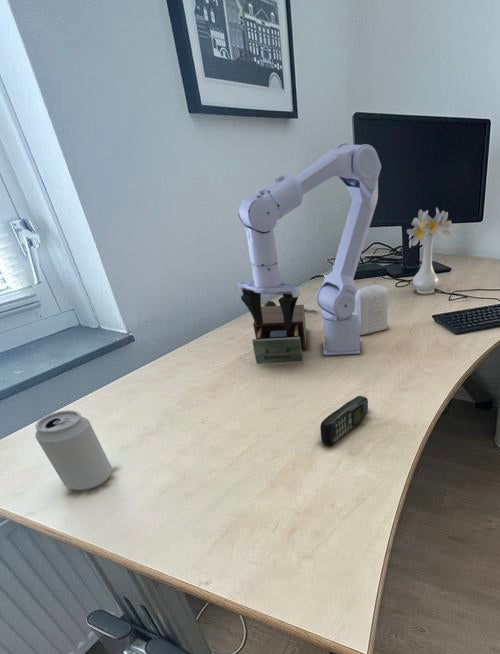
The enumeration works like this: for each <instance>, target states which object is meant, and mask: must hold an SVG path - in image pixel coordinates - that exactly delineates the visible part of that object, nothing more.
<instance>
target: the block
mask: <svg viewBox="0 0 500 654" xmlns="http://www.w3.org/2000/svg"><path fill="white" fill-rule="evenodd" d="M270 338H288V336H287V330H284V331H271V334H270Z"/></svg>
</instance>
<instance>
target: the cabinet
mask: <svg viewBox="0 0 500 654" xmlns="http://www.w3.org/2000/svg"><path fill="white" fill-rule="evenodd" d="M304 309H305V304H296V305H295V308H294V312H293V318H292V325H299V329H300V338H301V348H302V351H306V350H307V331H308V330H307V322H306V314H305V313H306V312H304ZM261 311H262V317H263V323H262V324H261V325H259V326H256V323H255V321H254V320H253V324H252V325H253V331H254V336H255V339H257V334H258V331H259V327H263V326H284V317H283V312H282V309H281V306H280V305H276V306H263V307H262V306H261Z"/></svg>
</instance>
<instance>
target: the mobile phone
mask: <svg viewBox="0 0 500 654" xmlns="http://www.w3.org/2000/svg"><path fill="white" fill-rule="evenodd" d="M368 411H369V401H368V398H367V397H365V396H364V395H358V396H356V397H354V398H352V399H351V400H349V401H347V402H345V403H344V404H343V405H341V407H339V408H337V409H336V410H335V411H333V412H332V413H330V414H329V415H328V416H327V417H325V418H324V419H323V420H322V421H321V423H320V427H319V428H320V440H321V442H322V444H323V445H324V446H327V447H331V446H333V445H334V444H335V443H336V442H337V441H340V439H341V438H342V437H344V436H346V434H348V433H349V432H350V431H352V430H353V429H355V428H356V427H357V426H359V425H360V424H361V423H362V422H363V421H364V419H365V418H366V416H367V414H368Z"/></svg>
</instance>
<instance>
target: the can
mask: <svg viewBox="0 0 500 654" xmlns="http://www.w3.org/2000/svg"><path fill="white" fill-rule="evenodd" d="M34 428H35V430H36V432H35V439H36V440H37V443H38V444H39V446H40V447H41V449H42V451H43V453H44V454H45V456H46V457H47V459H48V461H49V463H50V464H51V466H52V467H53V469H54V470H55V472H56V474H57V476H58V477H59V480H61V483H62V484H63V485H64V486H65V488H68V489H69V490H70V489H71V490H76V491H88V490H93V489H95V488H98V487H99V486H101V485H103V484H104V483H105V482H106V481H107V480H108V479H109V477H110V475H111V474H112V472H113V467H112V465H111V463H110V461H109V459H108V457H107V454H106V452H105V451H104V448H103V447H102V444H101V442H100V440H99V439H98V437H97V433H95V431H94V428H93V426H92V424H91V422H90V420H89V419H88V418H86V417H85V416H82V414H81V413H80V412H79V411H76V410H70V409H69V410H68V409H67V410H60V411H56V412H52V413H50V414H49V413H48V414H47V415H45V416H43V417H41V418H40V419H39V420H38V421H37V422H36V424H35V427H34Z"/></svg>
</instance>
